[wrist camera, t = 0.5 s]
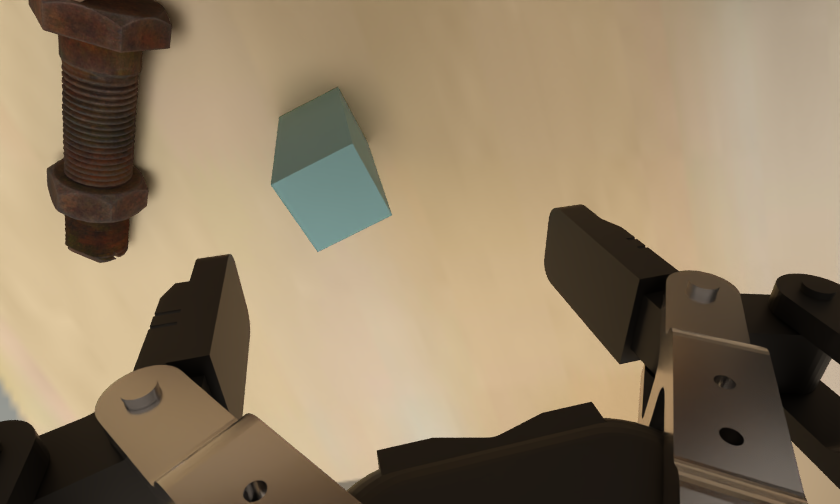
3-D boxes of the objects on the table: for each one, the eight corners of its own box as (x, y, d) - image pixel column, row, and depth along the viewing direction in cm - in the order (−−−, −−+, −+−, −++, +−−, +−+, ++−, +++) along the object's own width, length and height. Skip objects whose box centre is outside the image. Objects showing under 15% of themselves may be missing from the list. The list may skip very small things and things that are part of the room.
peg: (337, 86, 29) (352, 143, 21) (368, 143, 31) (392, 215, 23) (279, 117, 30) (270, 184, 21) (313, 171, 32) (317, 252, 23)
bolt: (104, 213, 33) (111, -26, 25) (167, 248, 32) (194, 16, 25) (16, 250, 28) (-9, -34, 20) (89, 292, 27) (92, 18, 20)
